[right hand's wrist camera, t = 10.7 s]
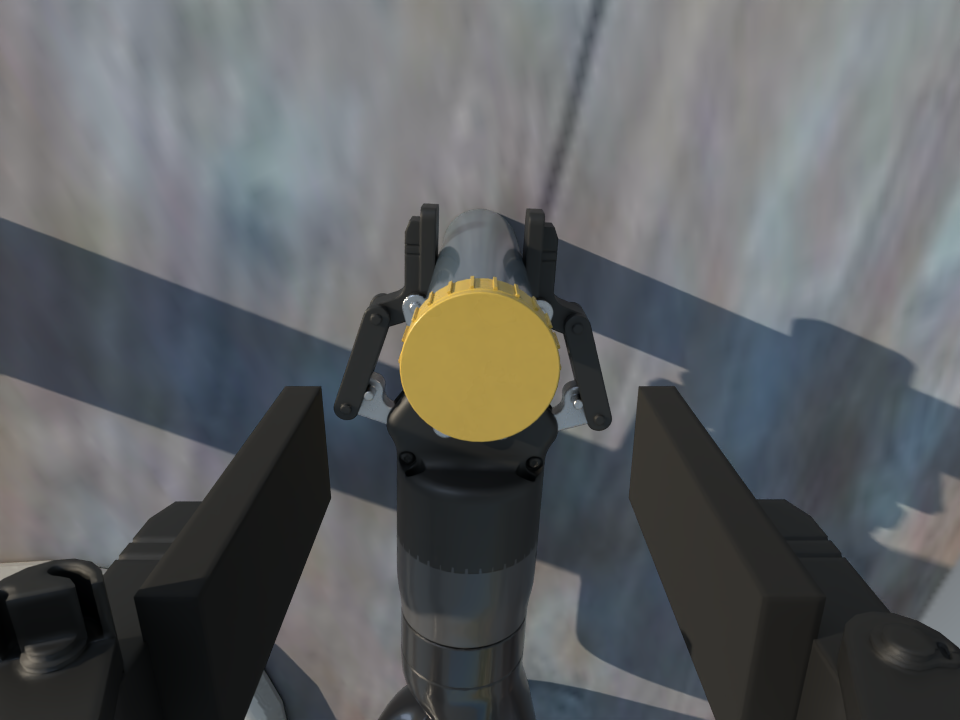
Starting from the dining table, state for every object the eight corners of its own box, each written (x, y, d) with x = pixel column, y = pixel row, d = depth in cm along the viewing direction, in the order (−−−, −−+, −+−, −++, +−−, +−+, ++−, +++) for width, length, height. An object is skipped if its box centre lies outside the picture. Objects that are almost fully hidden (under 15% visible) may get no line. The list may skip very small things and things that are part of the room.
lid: (460, 243, 19) (459, 256, 17) (587, 333, 20) (597, 352, 18) (374, 366, 20) (365, 387, 19) (497, 444, 21) (498, 472, 20)
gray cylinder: (470, 193, 35) (462, 267, 18) (532, 237, 36) (580, 349, 19) (428, 255, 36) (381, 380, 19) (488, 297, 37) (495, 453, 20)
